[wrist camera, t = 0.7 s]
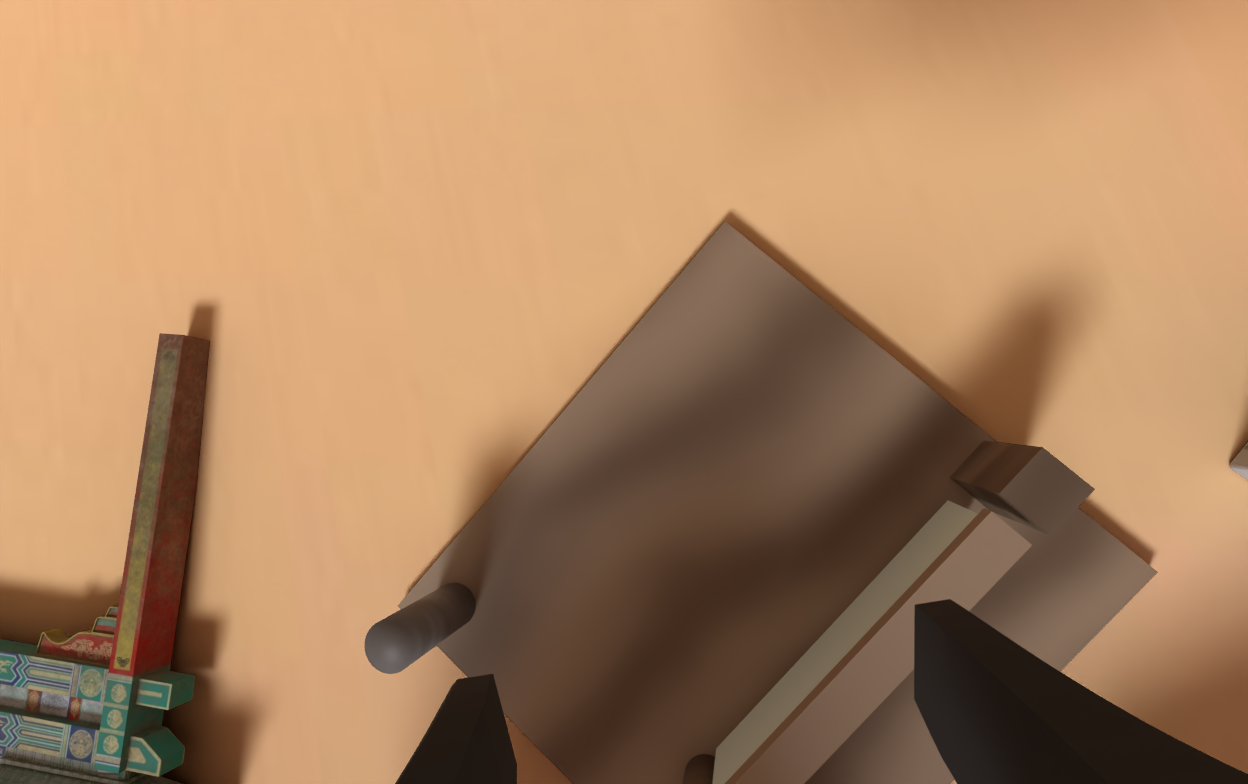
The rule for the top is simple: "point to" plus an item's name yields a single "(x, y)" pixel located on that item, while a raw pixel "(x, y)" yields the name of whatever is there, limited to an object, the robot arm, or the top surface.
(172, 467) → the miniature gate
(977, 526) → the panel
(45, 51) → the top surface
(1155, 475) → the top surface
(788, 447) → the brown piece
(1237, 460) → the coffee box
